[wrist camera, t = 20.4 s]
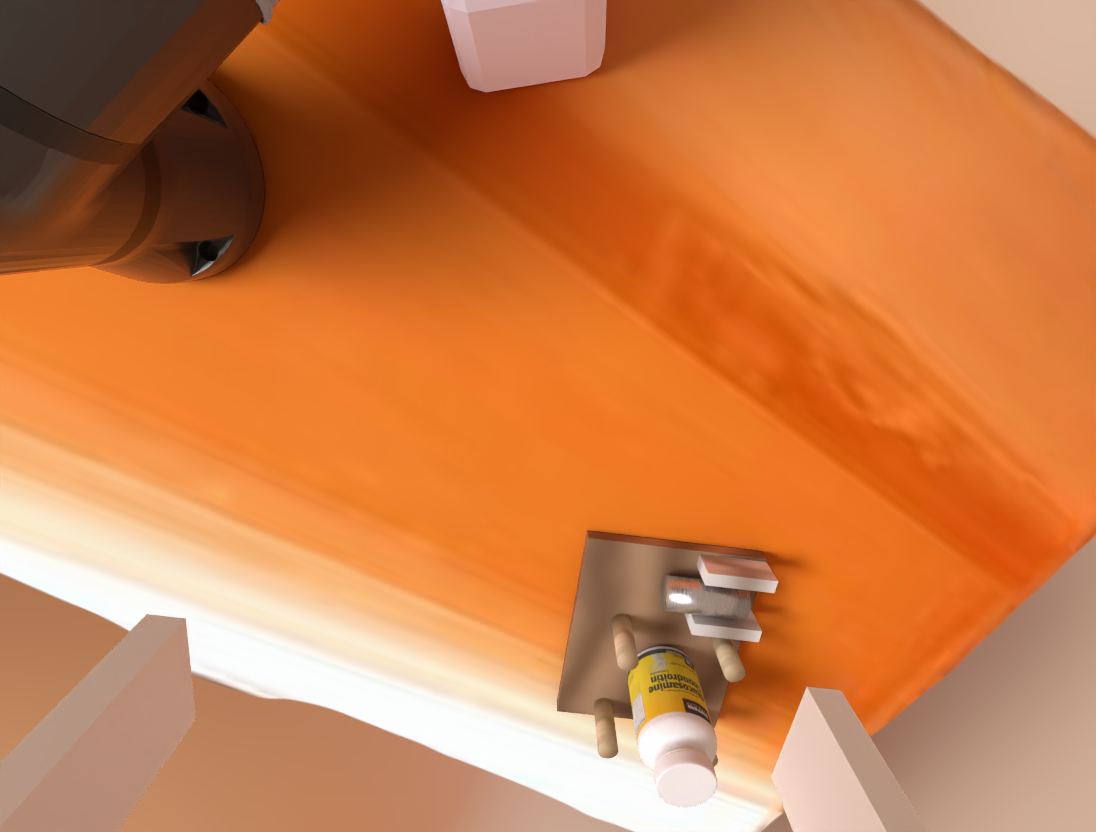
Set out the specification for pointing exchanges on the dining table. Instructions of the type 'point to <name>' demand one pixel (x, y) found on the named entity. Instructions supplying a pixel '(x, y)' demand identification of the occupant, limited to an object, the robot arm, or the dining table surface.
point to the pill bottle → (673, 726)
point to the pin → (703, 598)
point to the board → (651, 623)
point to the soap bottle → (525, 40)
